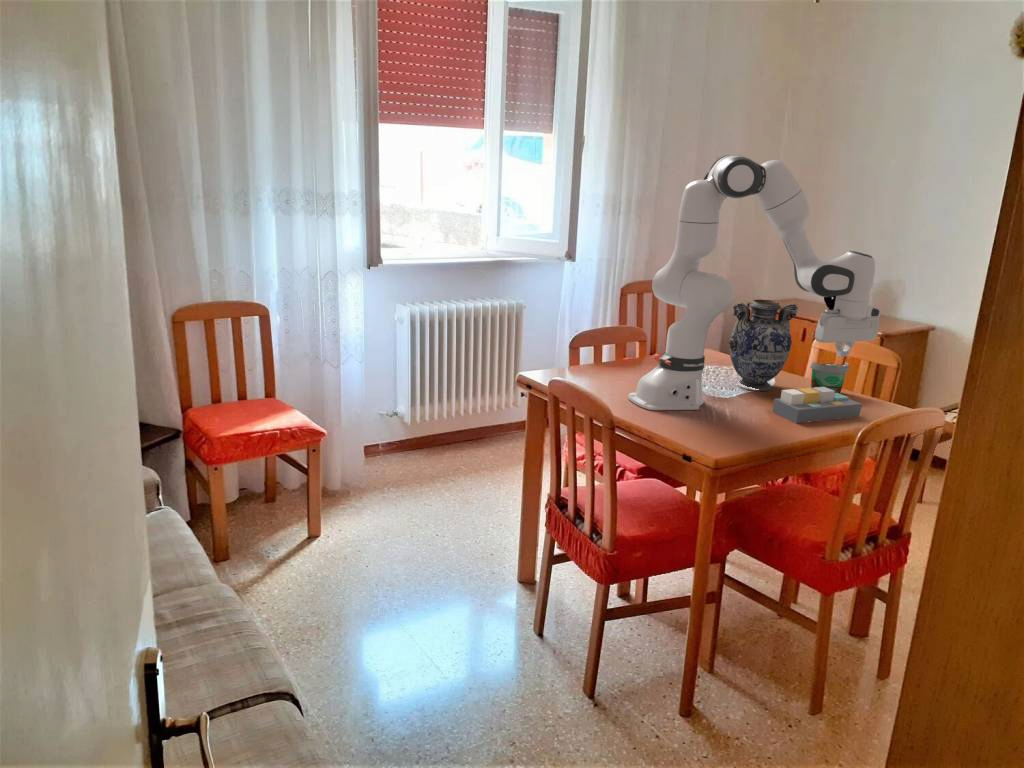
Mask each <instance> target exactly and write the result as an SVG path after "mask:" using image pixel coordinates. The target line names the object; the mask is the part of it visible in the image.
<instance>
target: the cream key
mask: <svg viewBox="0 0 1024 768" xmlns="http://www.w3.org/2000/svg"><path fill="white" fill-rule="evenodd" d="M804 396H805V393H802V392H800V391H797V389H795V388H791V389H781V395H780V398H781V399H780V400H781V401H783V402H785V403H787V404H789V405H798V404H803V402H804Z"/></svg>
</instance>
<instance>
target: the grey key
mask: <svg viewBox="0 0 1024 768" xmlns="http://www.w3.org/2000/svg"><path fill="white" fill-rule="evenodd" d="M812 389H813V390H816V391H818V392H820V396H819V402H831V401H833V400H834V394H835V391H834V390H831V389H829V388H826V387H814V388H812Z"/></svg>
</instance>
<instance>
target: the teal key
mask: <svg viewBox="0 0 1024 768" xmlns="http://www.w3.org/2000/svg"><path fill="white" fill-rule="evenodd" d="M848 398H849V396H847V395H843V394H842V393H840V394H839V393H835V394H834V400H835V401H842V400H848Z"/></svg>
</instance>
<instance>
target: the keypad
mask: <svg viewBox="0 0 1024 768" xmlns="http://www.w3.org/2000/svg"><path fill="white" fill-rule="evenodd" d="M780 399H781V397H780V398H774V400H773V407H772V412H773V414H776V415H777V416H780V417H782V418H784V419H787V420H789V421H790V420H791V422H792V421H793V423H794V422H795V423H794V424H802V423H801V422H805V423H809V422H808V421H815V422H818V421H817V420H824V421H830V420H829V419H834V420H839V419H838V418H844V419H848V418H847V417H854V418H860V416H861V411H862V407H863V406H862V405H863V404H862V403H861V402H859V401H855V400H854V399H851V398H849V397H848V400H842V401H835V400H833V401H831V402H818V403H809V404H806V403H803V404H798V405H789V404H787V403H785V402H783V401H781V400H780Z"/></svg>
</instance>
